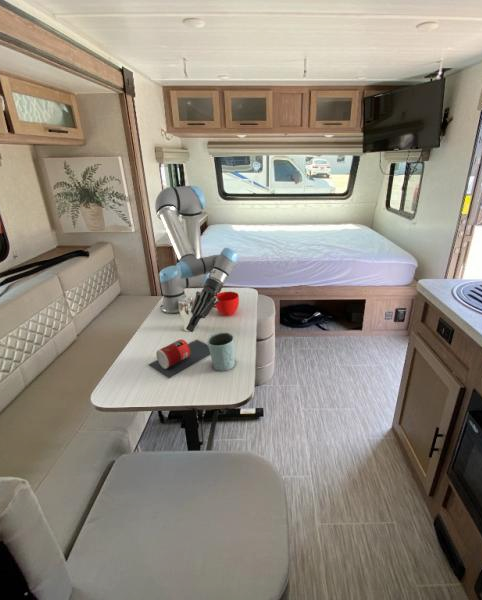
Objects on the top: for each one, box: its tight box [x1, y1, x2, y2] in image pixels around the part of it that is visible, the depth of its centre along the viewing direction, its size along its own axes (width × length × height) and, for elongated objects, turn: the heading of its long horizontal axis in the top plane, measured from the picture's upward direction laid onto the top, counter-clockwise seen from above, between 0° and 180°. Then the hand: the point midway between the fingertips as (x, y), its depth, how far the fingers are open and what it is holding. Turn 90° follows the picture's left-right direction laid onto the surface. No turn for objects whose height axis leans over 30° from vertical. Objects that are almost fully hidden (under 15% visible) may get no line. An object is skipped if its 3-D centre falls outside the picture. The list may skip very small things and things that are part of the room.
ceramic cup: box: [213, 291, 240, 317], centre depth 171 cm, size 13×17×10 cm
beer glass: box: [178, 297, 197, 332], centre depth 156 cm, size 7×7×15 cm
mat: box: [148, 339, 211, 379], centre depth 135 cm, size 24×14×1 cm, turn 140°
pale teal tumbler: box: [206, 332, 236, 372], centre depth 126 cm, size 10×10×12 cm
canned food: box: [155, 339, 190, 369], centre depth 130 cm, size 8×8×11 cm
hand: (189, 330), depth 134 cm, fingers closed
